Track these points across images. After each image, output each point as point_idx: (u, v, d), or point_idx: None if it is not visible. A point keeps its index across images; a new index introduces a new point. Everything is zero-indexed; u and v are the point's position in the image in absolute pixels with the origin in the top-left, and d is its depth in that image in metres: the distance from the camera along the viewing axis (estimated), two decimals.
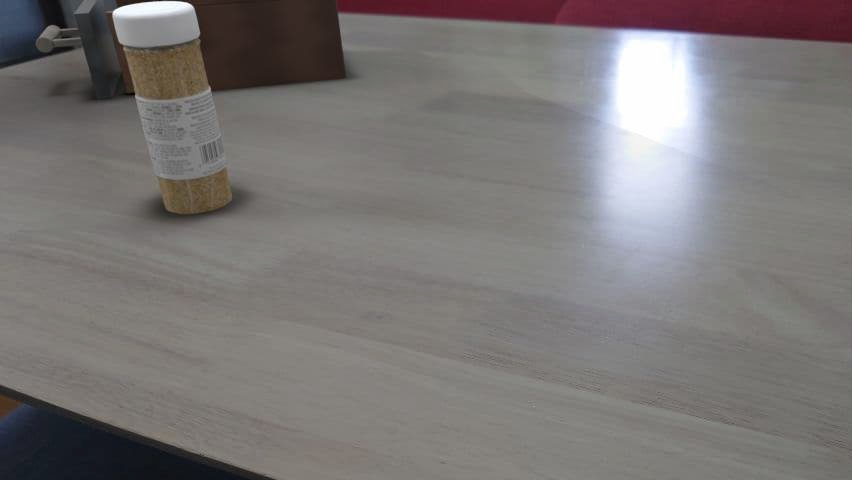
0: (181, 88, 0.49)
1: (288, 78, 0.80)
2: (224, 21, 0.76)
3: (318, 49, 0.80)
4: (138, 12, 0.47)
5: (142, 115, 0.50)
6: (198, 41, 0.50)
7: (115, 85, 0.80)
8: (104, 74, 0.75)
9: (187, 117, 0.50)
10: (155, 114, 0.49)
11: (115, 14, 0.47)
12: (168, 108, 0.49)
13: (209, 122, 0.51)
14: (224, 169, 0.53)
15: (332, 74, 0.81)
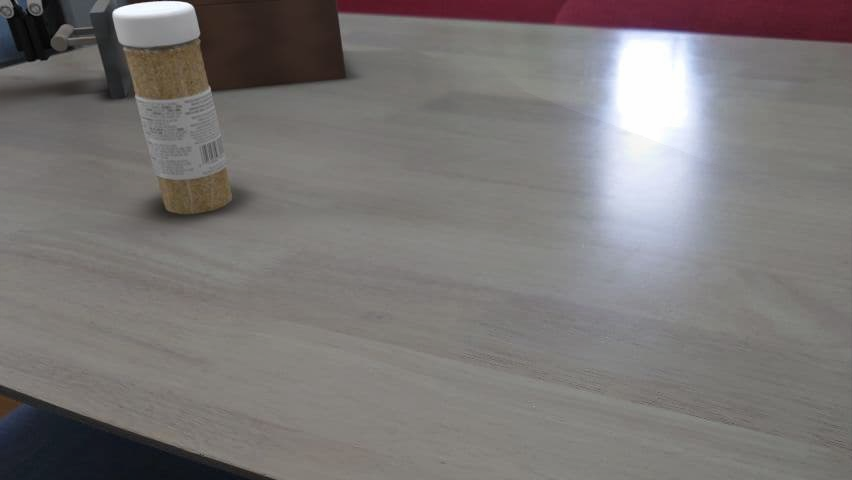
0: (181, 88, 0.49)
1: (288, 78, 0.80)
2: (224, 21, 0.76)
3: (318, 49, 0.80)
4: (138, 12, 0.47)
5: (142, 115, 0.50)
6: (198, 41, 0.50)
7: (129, 84, 0.80)
8: (118, 73, 0.76)
9: (187, 117, 0.50)
10: (155, 114, 0.49)
11: (115, 14, 0.47)
12: (168, 108, 0.49)
13: (209, 122, 0.51)
14: (224, 169, 0.53)
15: (332, 74, 0.81)
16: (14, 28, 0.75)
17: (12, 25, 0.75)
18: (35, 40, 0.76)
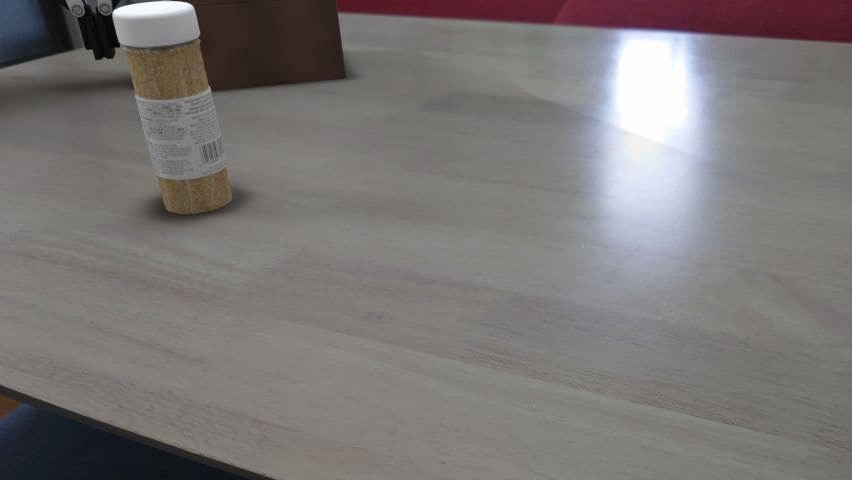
0: (181, 88, 0.49)
1: (288, 78, 0.80)
2: (224, 21, 0.76)
3: (318, 49, 0.80)
4: (138, 12, 0.47)
5: (142, 115, 0.50)
6: (198, 41, 0.50)
7: None
8: None
9: (187, 117, 0.50)
10: (155, 114, 0.49)
11: (115, 14, 0.47)
12: (168, 108, 0.49)
13: (210, 122, 0.51)
14: (224, 169, 0.53)
15: (332, 74, 0.81)
16: (83, 27, 0.77)
17: (82, 24, 0.77)
18: (103, 39, 0.77)
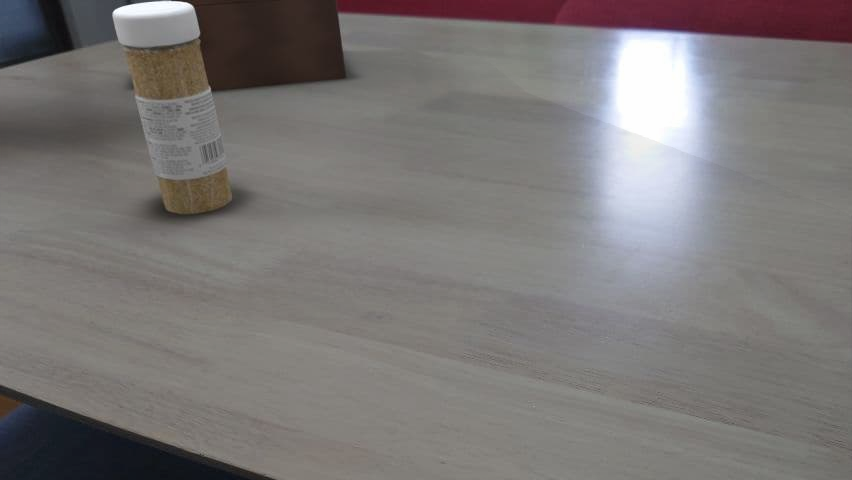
0: (181, 88, 0.49)
1: (288, 78, 0.80)
2: (224, 21, 0.76)
3: (318, 49, 0.80)
4: (138, 12, 0.47)
5: (142, 115, 0.50)
6: (198, 41, 0.50)
7: None
8: None
9: (187, 117, 0.50)
10: (155, 114, 0.49)
11: (115, 14, 0.47)
12: (168, 108, 0.49)
13: (210, 122, 0.51)
14: (224, 169, 0.53)
15: (332, 74, 0.81)
16: None
17: None
18: None
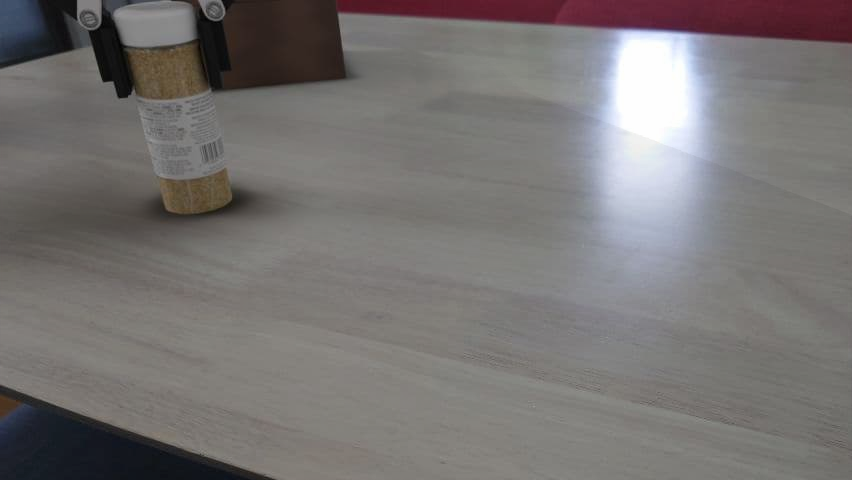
0: (182, 88, 0.49)
1: (288, 78, 0.80)
2: (224, 21, 0.76)
3: (318, 49, 0.80)
4: (139, 12, 0.47)
5: (142, 115, 0.50)
6: (199, 41, 0.50)
7: None
8: None
9: (187, 117, 0.50)
10: (155, 114, 0.49)
11: (116, 14, 0.47)
12: (168, 108, 0.49)
13: (210, 122, 0.51)
14: (224, 169, 0.53)
15: (332, 74, 0.81)
16: (99, 46, 0.48)
17: (96, 41, 0.47)
18: (210, 58, 0.49)
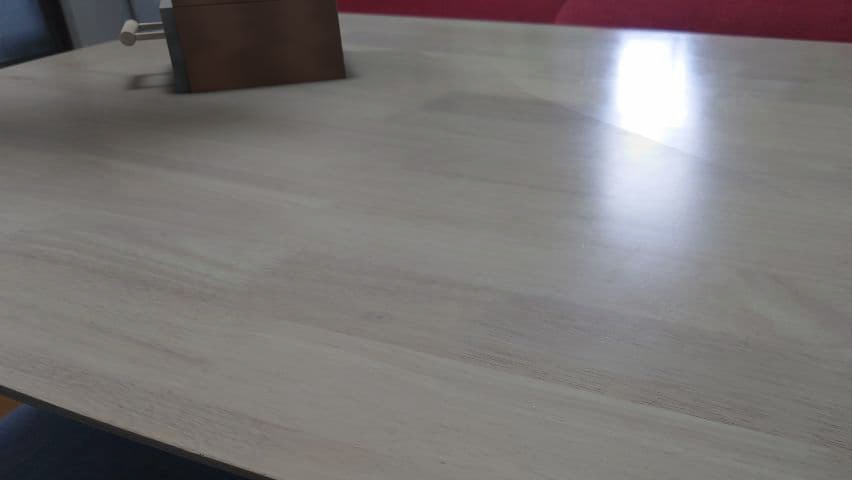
0: None
1: (288, 78, 0.80)
2: (224, 21, 0.76)
3: (318, 49, 0.80)
4: None
5: None
6: None
7: None
8: (185, 67, 0.77)
9: None
10: None
11: None
12: None
13: None
14: None
15: (332, 74, 0.81)
16: None
17: None
18: None
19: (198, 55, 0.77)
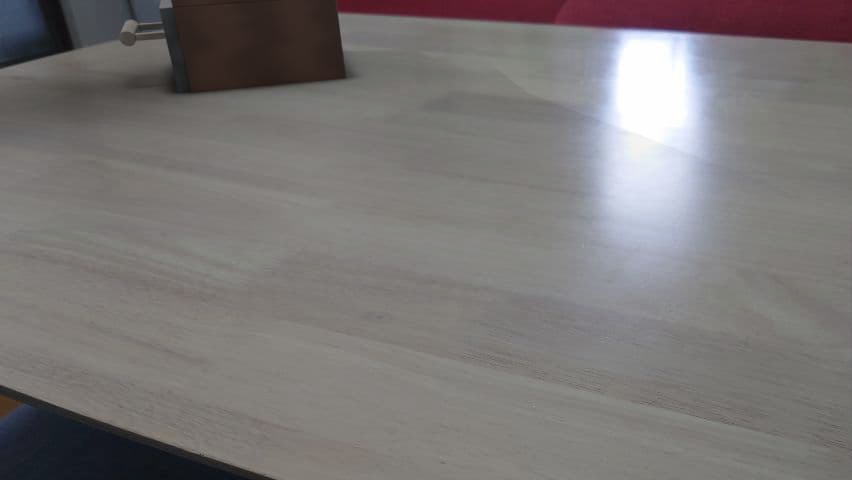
0: None
1: (288, 78, 0.80)
2: (224, 21, 0.76)
3: (318, 49, 0.80)
4: None
5: None
6: None
7: None
8: (185, 67, 0.77)
9: None
10: None
11: None
12: None
13: None
14: None
15: (332, 74, 0.81)
16: None
17: None
18: None
19: (198, 55, 0.77)
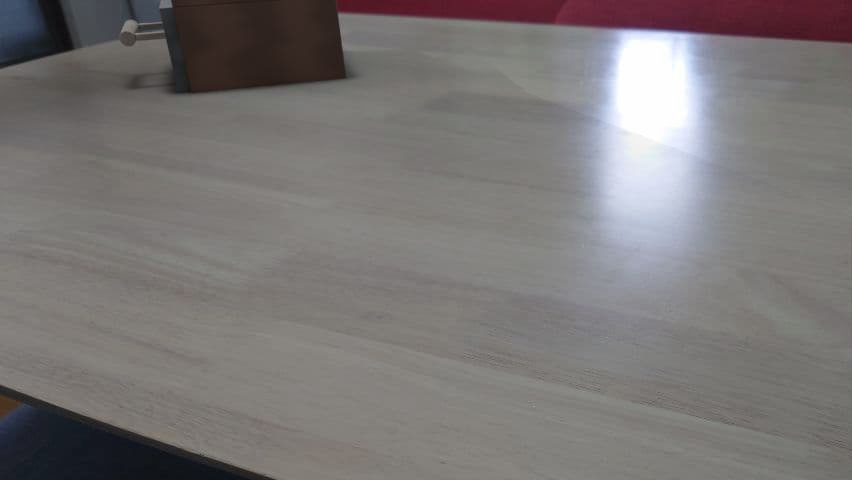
0: None
1: (288, 78, 0.80)
2: (224, 21, 0.76)
3: (318, 49, 0.80)
4: None
5: None
6: None
7: None
8: (185, 67, 0.77)
9: None
10: None
11: None
12: None
13: None
14: None
15: (332, 74, 0.81)
16: None
17: None
18: None
19: (198, 55, 0.77)
